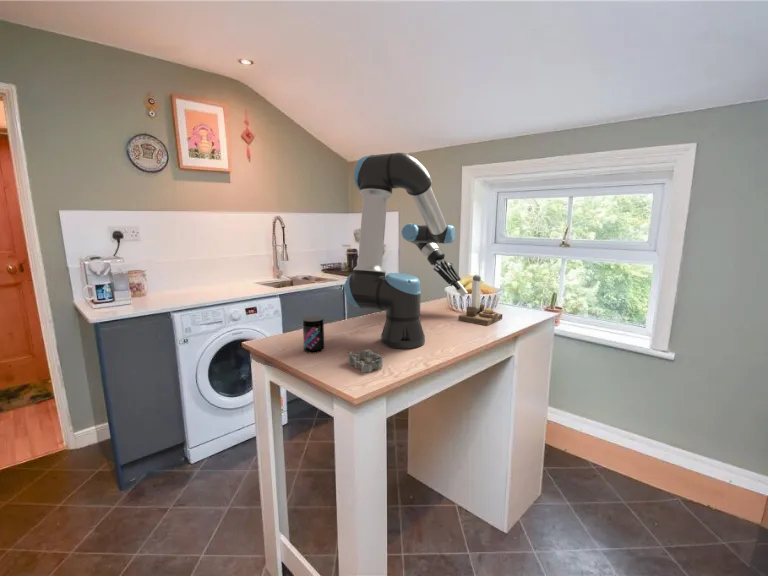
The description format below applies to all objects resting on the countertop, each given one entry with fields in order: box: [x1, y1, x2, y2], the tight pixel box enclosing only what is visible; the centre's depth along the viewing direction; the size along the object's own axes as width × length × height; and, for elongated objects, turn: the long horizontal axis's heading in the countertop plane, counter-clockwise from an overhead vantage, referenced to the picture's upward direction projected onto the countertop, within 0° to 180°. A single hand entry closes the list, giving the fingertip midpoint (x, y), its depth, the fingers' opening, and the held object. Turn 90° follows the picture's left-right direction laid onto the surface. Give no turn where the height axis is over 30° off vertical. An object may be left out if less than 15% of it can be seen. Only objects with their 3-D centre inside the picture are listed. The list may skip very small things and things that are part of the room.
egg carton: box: [346, 349, 385, 373], centre depth 109 cm, size 11×8×4 cm
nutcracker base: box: [458, 303, 503, 326], centre depth 159 cm, size 14×13×6 cm
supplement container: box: [302, 315, 325, 354], centre depth 121 cm, size 7×7×10 cm
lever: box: [470, 274, 482, 313], centre depth 159 cm, size 5×3×16 cm
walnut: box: [484, 307, 494, 315], centre depth 156 cm, size 4×4×4 cm
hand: (465, 294), depth 162 cm, fingers closed
